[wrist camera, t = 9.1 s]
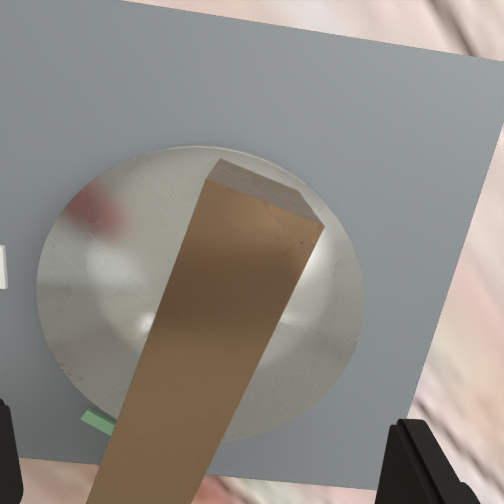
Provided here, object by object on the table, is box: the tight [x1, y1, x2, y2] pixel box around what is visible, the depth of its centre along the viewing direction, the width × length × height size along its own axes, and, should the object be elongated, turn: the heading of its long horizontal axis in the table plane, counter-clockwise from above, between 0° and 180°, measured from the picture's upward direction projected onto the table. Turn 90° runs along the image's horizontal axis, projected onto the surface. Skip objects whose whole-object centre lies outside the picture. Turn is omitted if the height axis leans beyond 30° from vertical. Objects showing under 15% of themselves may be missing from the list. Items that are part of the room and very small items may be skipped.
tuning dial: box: [36, 144, 364, 504], centre depth 15 cm, size 18×13×7 cm
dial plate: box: [0, 0, 504, 490], centre depth 18 cm, size 22×22×2 cm
